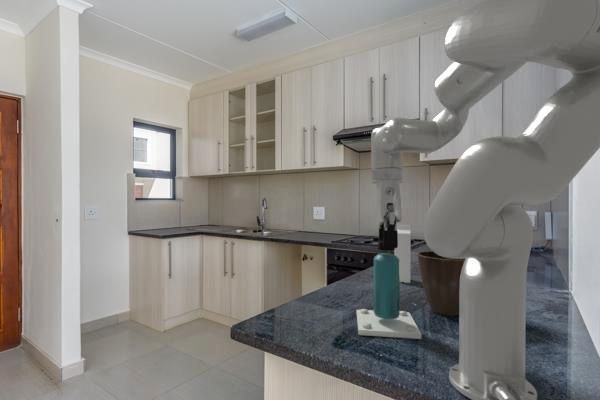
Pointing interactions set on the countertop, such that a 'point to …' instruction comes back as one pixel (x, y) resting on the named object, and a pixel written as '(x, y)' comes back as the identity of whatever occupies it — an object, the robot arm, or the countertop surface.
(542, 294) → the countertop surface
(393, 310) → the beverage bottle
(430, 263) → the plant pot
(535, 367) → the countertop surface
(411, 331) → the base plate
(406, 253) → the milk
